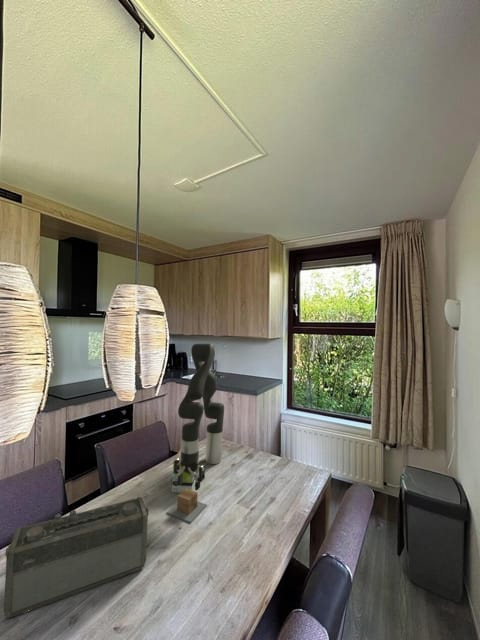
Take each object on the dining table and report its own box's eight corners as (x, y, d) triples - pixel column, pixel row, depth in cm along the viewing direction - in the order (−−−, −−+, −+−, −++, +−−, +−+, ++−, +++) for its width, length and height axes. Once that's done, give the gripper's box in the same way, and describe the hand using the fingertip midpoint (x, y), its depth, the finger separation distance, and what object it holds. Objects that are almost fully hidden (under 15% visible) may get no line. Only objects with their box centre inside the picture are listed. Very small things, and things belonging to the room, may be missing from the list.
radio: (-3, 626, 72) (1, 548, 72) (11, 580, 84) (14, 513, 85) (149, 569, 90) (151, 506, 90) (141, 538, 102) (144, 483, 103)
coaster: (184, 497, 127) (184, 496, 127) (206, 505, 121) (206, 504, 121) (166, 513, 116) (166, 512, 116) (190, 523, 111) (190, 521, 111)
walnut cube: (185, 502, 123) (186, 488, 123) (197, 506, 120) (197, 492, 120) (177, 510, 117) (177, 495, 117) (188, 514, 115) (189, 500, 115)
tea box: (192, 494, 130) (193, 462, 130) (171, 492, 130) (172, 461, 130) (198, 476, 145) (199, 447, 145) (178, 475, 145) (180, 446, 145)
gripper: (208, 449, 119) (207, 486, 119) (181, 441, 125) (180, 477, 125) (199, 456, 112) (197, 496, 113) (170, 448, 118) (169, 486, 119)
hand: (188, 486), depth 119 cm, fingers open, 8 cm apart
